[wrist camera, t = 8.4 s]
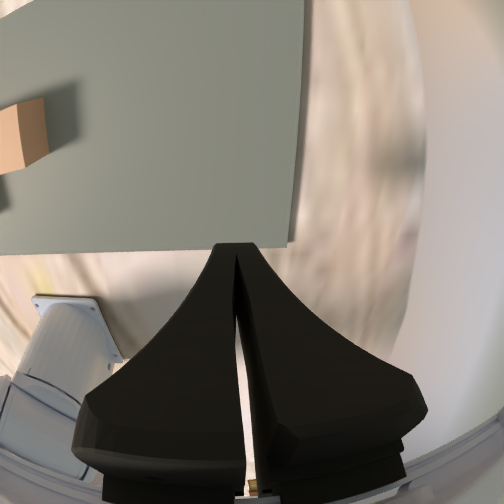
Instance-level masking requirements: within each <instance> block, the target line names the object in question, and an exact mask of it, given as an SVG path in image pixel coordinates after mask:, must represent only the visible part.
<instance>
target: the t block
mask: <svg viewBox="0 0 504 504" xmlns="http://www.w3.org/2000/svg"><path fill="white" fill-rule="evenodd" d="M48 154H50V152H49V145H48V138H47V131H46V122H45V111H44V98H38V99H34V100H30V101H26V102H22V103H18V104H15V105H13V106H10V107H8V108H6V109H3V110H1V111H0V175H1V174H5V173H8V172H12V171H16V170H20V169H24V168H26V167H28V166H30V165H31V164H33V163H34V162H36V161H38V160H39V159H41V158H43V157H45V156H46V155H48Z"/></svg>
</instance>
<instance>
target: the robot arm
mask: <svg viewBox="0 0 504 504" xmlns="http://www.w3.org/2000/svg"><path fill="white" fill-rule="evenodd" d="M31 300H32V303H33V305H34V306H35V308H36V310H37V312H38V314H39V316H40V317H41V319H40V321H39V323H38V325H37V327H36V329H35V331H34V333H33V335H32V337H31V339H30V341H29V343H28V346H27V348H26V350H25V352H24V355H23V357H22V359H21V362H20V364H19V366H18V369H17V371H16V373H15V375H14V377H13V379H12V380H11V377H10V376H8V375H7V374H6V375H5V376H0V504H349V503H353V502H356V501H359V500H363V499H365V498H369V497H371V496H375V495H377V494H380V493H383V492H386V491H388V490H391V489H393V488H396V487H398V486H401V485H402V486H401V487H400V488H399V489H398V492H397V494H396V495H395V496H392V497H390V498H386V499H384V500H381V501H378V502H375V503H372V504H497V503H498V502H499V500H500V499H501V498H502V497H503V496H504V407H503V408H501V409H500V410H499V411H498V412H497V414H495V415H494V416H492V417H491V418H489V419H488V420H486V421H485V422H483V423H482V424H480V425H479V426H477V427H475V428H474V429H472V430H470V431H469V432H467V433H465V434H463V435H462V436H460V437H458V438H456V439H455V440H453V441H451V442H449V443H447V444H445V445H443V446H441V447H439V448H437V449H435V450H433V451H431V452H429V453H427V454H425V455H423V456H420V457H418V458H416V459H414V460H411V461H409V462H406V463H404V464H403V462H402V459H401V456H400V453H401V452H403V451H404V446H403V443H402V440H401V438H402V437H403V436H405V435H406V434H407V433H408V432H410V431H411V430H412V429H413V428H415V427H416V425H418V424H419V423H420V422H421V421H422V420H423V419H424V418H425V416H426V414H427V412H428V408H427V405H426V403H425V401H424V398H423V396H422V393H421V391H420V389H419V387H418V385H417V383H416V381H415V379H414V378H413V376H412V375H411V374H409V373H407V372H405V371H403V370H400V369H399V368H397V367H395V366H392V365H391V364H389V363H387V362H385V361H383V360H381V359H379V358H377V357H375V356H373V355H372V354H370V353H368V352H367V351H365V350H363V349H362V348H360V347H358V346H357V345H355V344H354V343H352V342H351V341H349V340H348V339H346V338H345V337H343V336H342V335H341V334H339V333H338V332H336V331H335V330H334V329H332V328H331V327H330V326H328V325H327V324H326V323H324V322H323V321H322V320H321V319H319V318H318V317H317V316H316V315H315V314H314V313H313V312H312V311H310V310H309V309H308V308H307V307H306V306H305V305H304V304H303V303H302V302H301V301H300V300H299V299H298V298H297V297H296V296H295V295H294V294H293V293H292V292H291V291H290V289H289V288H288V287H287V286H286V285H285V284H284V283H283V282H282V280H281V279H280V278H279V277H278V275H277V274H276V273H275V272H274V270H273V269H272V268H271V267H270V265H269V264H268V262H267V261H266V260H265V258H264V257H263V255H262V254H261V252H260V251H259V249H258V247H257V246H256V245H255V244H254V243H253V242H245V243H216V244H215V245H214V246H213V249H212V252H211V254H210V257H209V259H208V261H207V263H206V265H205V267H204V269H203V271H202V272H201V274H200V276H199V278H198V280H197V281H196V283H195V285H194V286H193V288H192V289H191V291H190V292H189V294H188V295H187V297H186V298H185V300H184V301H183V303H182V304H181V305H180V307H179V308H178V309H177V311H176V312H175V313H174V314H173V316H172V317H171V318H170V319H169V321H168V322H167V323H166V324H165V325H164V326H163V327H162V329H161V330H160V331H159V332H158V333H157V334H156V335H155V336H154V337H153V339H152V340H151V341H150V342H149V343H148V344H147V345H146V346H145V347H144V348H143V349H141V350H140V351H139V352H138V353H137V354H136V355H135V356H134V357H133V358H132V359H131V360H129V361H128V362H127V363H126V364H125V365H124V366H123V367H122V368H120V369H119V370H118V371H117V372H116V373H114V374H113V375H112V372H113V368H114V364H115V363H122V362H123V358H122V356H121V354H120V352H119V350H118V348H117V346H116V344H115V342H114V340H113V338H112V336H111V334H110V332H109V329H108V327H107V325H106V323H105V321H104V318H103V316H102V314H101V311H100V309H99V307H98V304H97V302H96V301H95V300H94V299H91V298H69V297H49V296H33V297H32V298H31ZM236 315H237V321H238V327H239V332H240V338H241V344H242V349H243V355H244V360H245V365H246V371H247V378H248V389H249V401H250V412H251V424H252V436H253V448H254V460H255V472H256V484H257V494H258V498H250V499H235V496H244V486H245V477H246V454H245V443H244V432H243V423H242V414H241V405H240V395H239V385H238V375H237V363H236V352H235V337H236ZM5 449H6V450H5ZM7 450H8V451H7ZM10 452H11V453H10ZM12 453H13V454H12ZM14 454H15V455H14ZM16 455H17V456H16ZM19 457H20V458H19ZM98 471H99V472H101V473H103V474H104V478H103V486H99V485H95V484H92V483H91V482H92V480H93V479H94V477H95V476H96V474H97V472H98Z"/></svg>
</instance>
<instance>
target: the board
mask: <svg viewBox="0 0 504 504" xmlns="http://www.w3.org/2000/svg"><path fill="white" fill-rule="evenodd" d="M303 30H304V0H34V1H32V2H30V3H28V4H26V5H24V6H22V7H20V8H19V9H17V10H15V11H13V12H12V13H10V14H8V15H7V16H5V17H3V18H2V19H0V111H1V110H3V109H6V108H8V107H10V106H13V105H15V104H18V103H22V102H26V101H30V100H34V99H38V98H44V111H45V122H46V131H47V138H48V145H49V152H50V154H48V155H46V156H45V157H43V158H41V159H39V160H38V161H36V162H34V163H33V164H31V165H30V166H28V167H26V168H24V169H20V170H16V171H12V172H8V173H5V174H1V175H0V256H2V255H32V254H64V253H98V252H133V251H170V250H209V249H213V246H214V245H215V244H216V243H245V242H253V243H254V244H255V245H256V246H257V247H258V248H287V240H288V231H289V222H290V212H291V202H292V192H293V182H294V171H295V159H296V147H297V135H298V121H299V107H300V92H301V74H302V55H303Z"/></svg>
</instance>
